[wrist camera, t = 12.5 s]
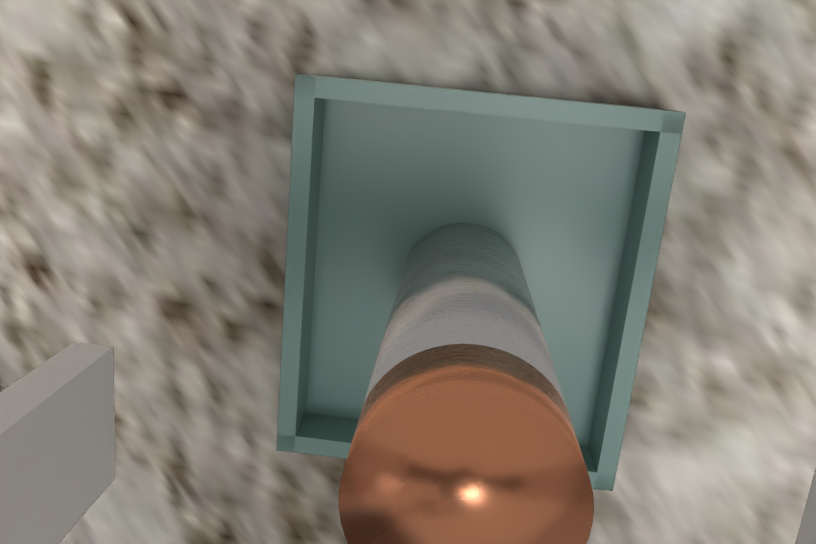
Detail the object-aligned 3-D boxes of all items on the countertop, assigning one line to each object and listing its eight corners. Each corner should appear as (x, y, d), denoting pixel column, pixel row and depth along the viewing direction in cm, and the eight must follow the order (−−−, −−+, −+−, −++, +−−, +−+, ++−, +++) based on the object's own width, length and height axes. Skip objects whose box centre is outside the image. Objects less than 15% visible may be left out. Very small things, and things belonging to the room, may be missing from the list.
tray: (293, 416, 26) (276, 450, 24) (312, 74, 23) (295, 74, 21) (598, 452, 26) (612, 490, 24) (662, 108, 23) (685, 112, 20)
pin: (397, 331, 24) (330, 598, 12) (408, 216, 23) (347, 377, 11) (515, 344, 24) (571, 630, 12) (531, 229, 23) (613, 407, 11)
